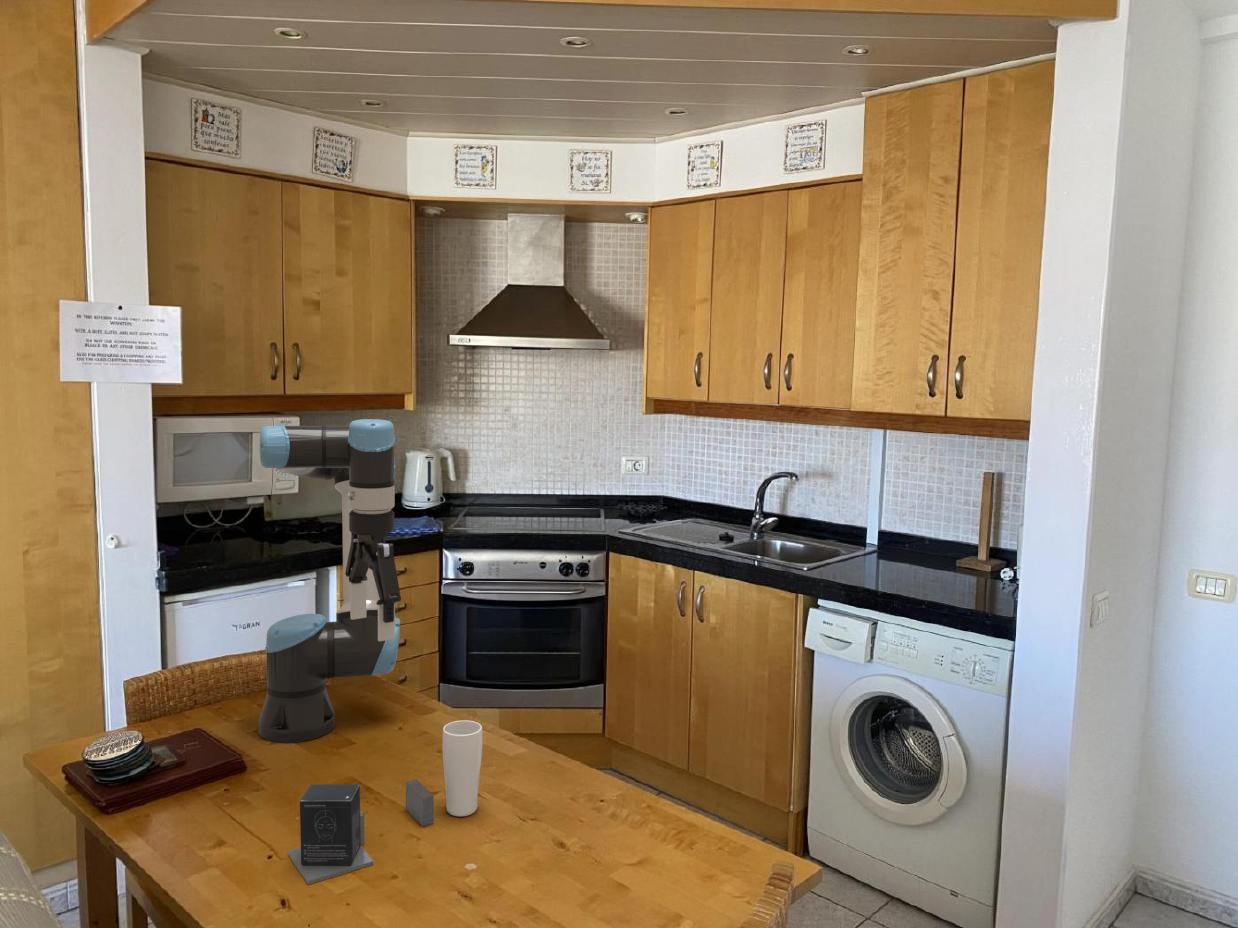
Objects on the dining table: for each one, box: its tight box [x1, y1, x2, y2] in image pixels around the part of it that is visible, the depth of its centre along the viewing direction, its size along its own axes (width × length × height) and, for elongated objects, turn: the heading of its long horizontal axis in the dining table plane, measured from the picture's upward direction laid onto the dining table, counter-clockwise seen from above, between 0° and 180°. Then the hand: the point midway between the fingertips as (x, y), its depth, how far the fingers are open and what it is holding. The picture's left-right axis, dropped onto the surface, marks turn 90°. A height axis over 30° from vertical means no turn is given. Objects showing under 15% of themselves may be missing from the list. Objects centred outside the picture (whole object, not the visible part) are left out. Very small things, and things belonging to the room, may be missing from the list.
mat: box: [287, 845, 374, 886], centre depth 143 cm, size 10×10×1 cm
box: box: [299, 783, 362, 865], centre depth 142 cm, size 8×6×11 cm
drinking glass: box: [441, 719, 483, 817], centre depth 158 cm, size 7×7×15 cm
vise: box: [360, 778, 435, 846], centre depth 151 cm, size 7×19×5 cm, turn 126°
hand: (371, 628), depth 161 cm, fingers open, 13 cm apart
